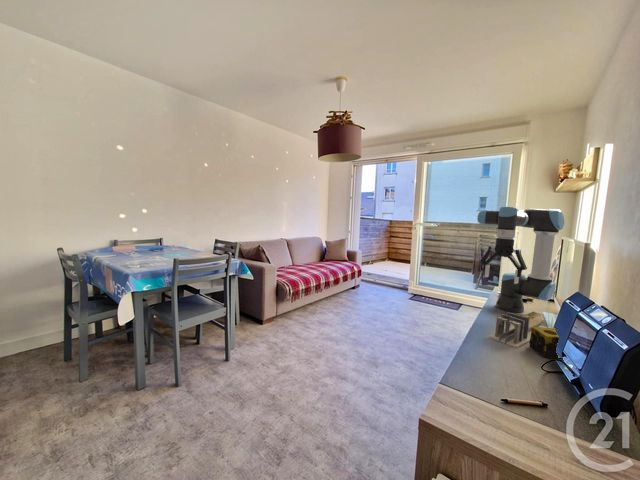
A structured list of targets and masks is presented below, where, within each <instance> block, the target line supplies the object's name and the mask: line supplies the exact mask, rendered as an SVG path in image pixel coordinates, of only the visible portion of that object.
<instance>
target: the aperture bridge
mask: <svg viewBox="0 0 640 480" xmlns="http://www.w3.org/2000/svg"><path fill="white" fill-rule="evenodd" d="M495 321H496V322H495V332H494V334H495V336H496V337H499V336H500V331H501V322H502V321H504V322H505V323H506V321H508V319H505V318H502V317H501V316H498V317H496V320H495ZM509 323H510V325H512V326H514V325H515V332H514V340H513V343H515V344H517V343H518V342H519V334H520V326H521V323H518V322H515V321H511V320H510V321H509Z"/></svg>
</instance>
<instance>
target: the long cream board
mask: <svg viewBox="0 0 640 480" xmlns="http://www.w3.org/2000/svg"><path fill="white" fill-rule="evenodd" d="M533 327H544V328H548V327H547V326H544V325H542V322H541V323H539V324H537V325H535V326H533ZM531 328H532V327H531ZM531 328H529V329H528V337H527V339H525V338H523V336H522V342H520V341H519V342H518V343H517V344H515V343H513V340H514V332H515V327H514V325H510V328H509V331H507V332H505V328H504V333H503V334H500V336H499V337H496V336H495V333H494V334H491V335H489V339H492V340H494V341H496V342H497V341H498V342H500V343H502V344H505V345H508V346H511V347H514V348H515V349H519V348H520V347H522V346H524V345H526V344H528V343H529V342H530V337H531ZM523 332H524V330H523Z"/></svg>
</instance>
